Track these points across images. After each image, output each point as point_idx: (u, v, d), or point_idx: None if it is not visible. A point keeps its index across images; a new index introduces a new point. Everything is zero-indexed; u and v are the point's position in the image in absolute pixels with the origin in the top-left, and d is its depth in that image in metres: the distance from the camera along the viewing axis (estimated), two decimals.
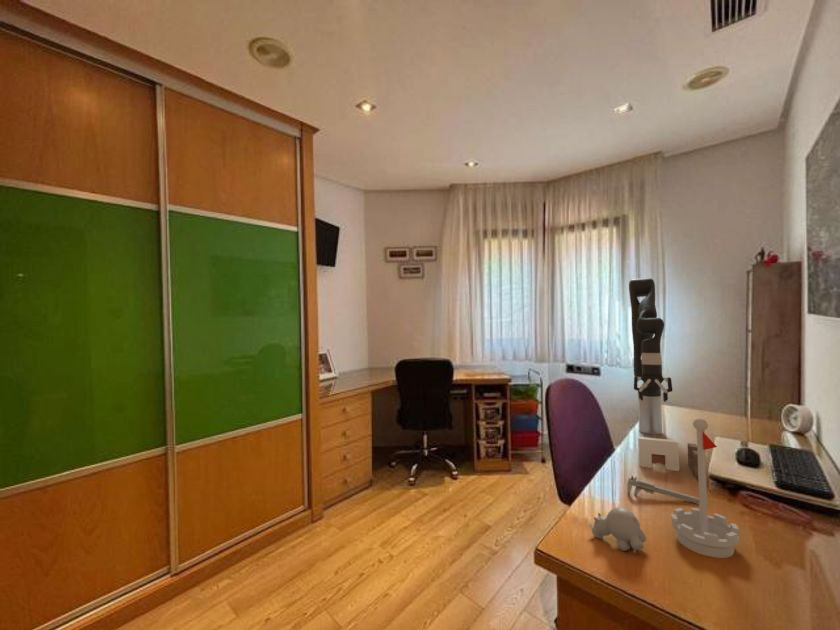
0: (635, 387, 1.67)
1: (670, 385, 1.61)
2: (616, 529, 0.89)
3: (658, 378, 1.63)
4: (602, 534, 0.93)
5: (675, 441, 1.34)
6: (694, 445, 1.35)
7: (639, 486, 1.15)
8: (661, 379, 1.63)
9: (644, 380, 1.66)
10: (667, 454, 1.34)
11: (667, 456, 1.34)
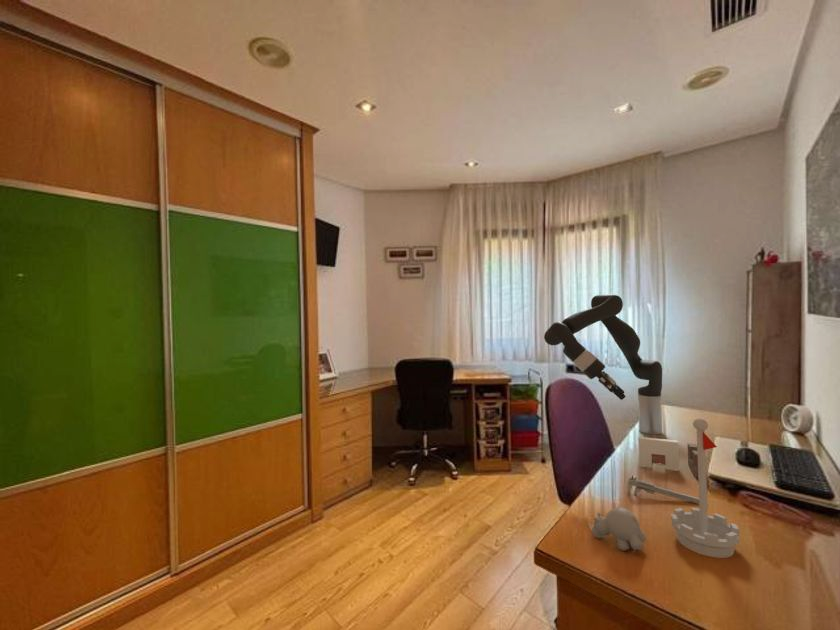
0: None
1: (605, 386, 1.37)
2: (616, 529, 0.89)
3: (599, 379, 1.42)
4: (602, 534, 0.93)
5: (675, 441, 1.34)
6: (694, 445, 1.35)
7: (639, 486, 1.15)
8: None
9: None
10: (667, 454, 1.34)
11: (667, 456, 1.34)
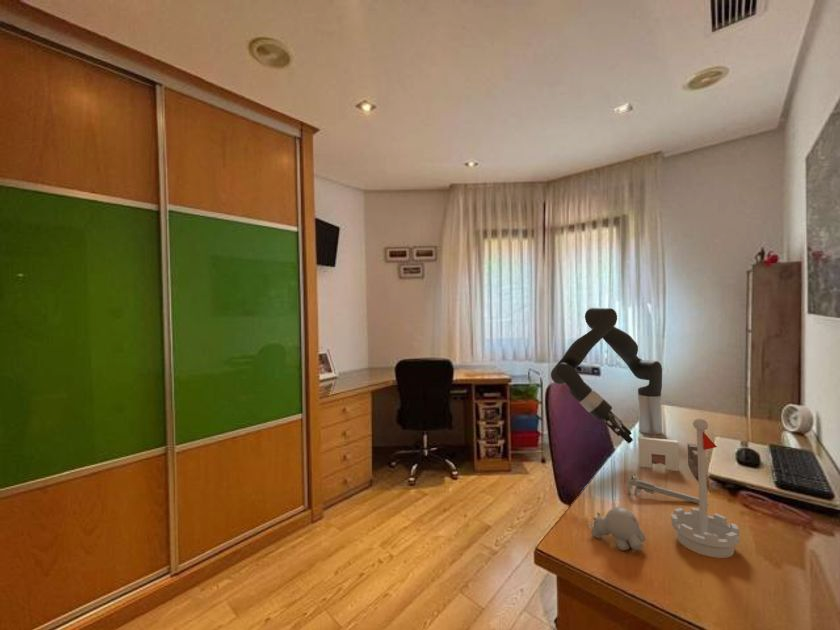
0: None
1: None
2: (616, 528, 0.89)
3: (606, 421, 1.41)
4: (601, 534, 0.93)
5: (675, 441, 1.34)
6: (694, 445, 1.35)
7: (639, 486, 1.15)
8: None
9: None
10: (667, 454, 1.34)
11: (667, 456, 1.34)
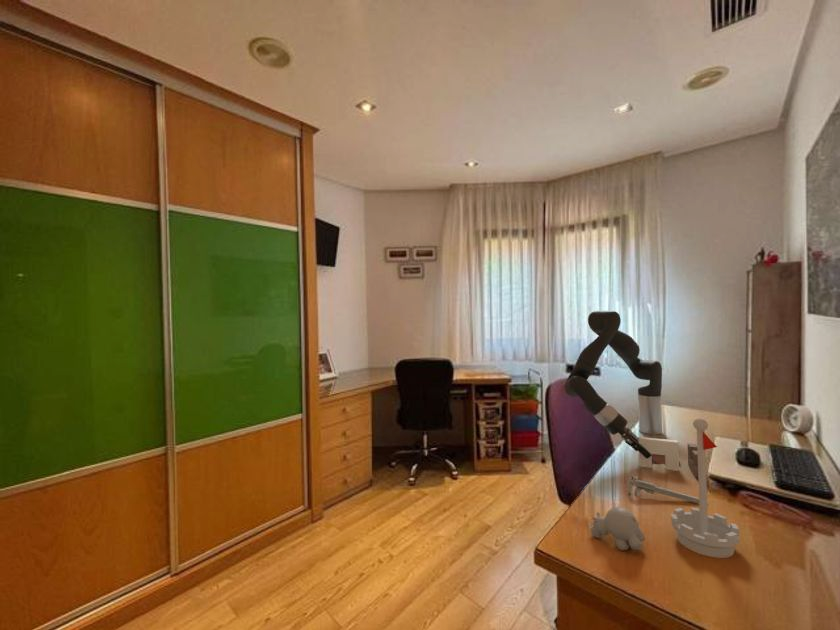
0: None
1: None
2: (615, 528, 0.89)
3: (621, 434, 1.39)
4: (601, 534, 0.93)
5: (675, 441, 1.34)
6: (694, 445, 1.35)
7: (639, 486, 1.15)
8: (623, 437, 1.38)
9: None
10: (667, 454, 1.34)
11: (667, 456, 1.34)
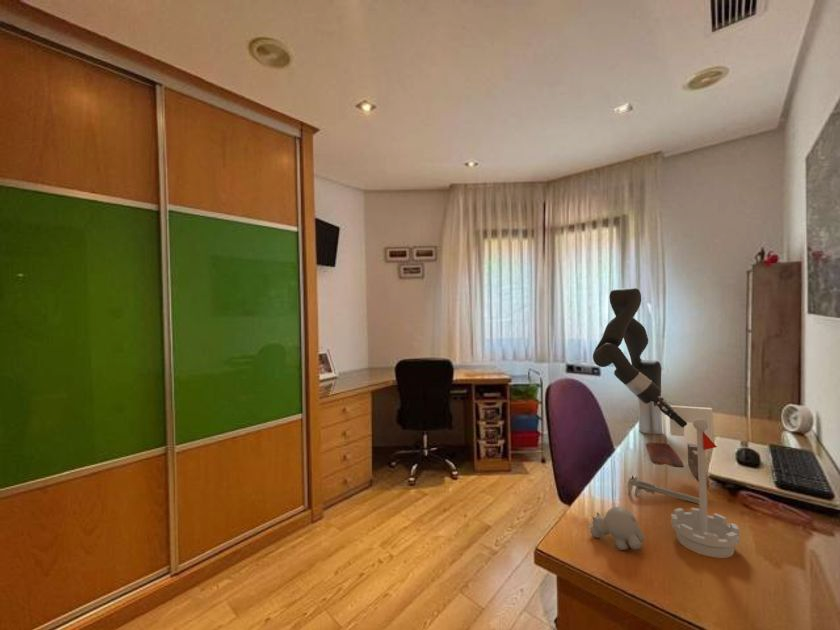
0: None
1: (666, 414, 1.31)
2: (615, 528, 0.89)
3: (654, 403, 1.34)
4: (600, 534, 0.93)
5: (709, 408, 1.29)
6: (694, 445, 1.35)
7: (639, 486, 1.15)
8: (657, 405, 1.33)
9: None
10: None
11: None
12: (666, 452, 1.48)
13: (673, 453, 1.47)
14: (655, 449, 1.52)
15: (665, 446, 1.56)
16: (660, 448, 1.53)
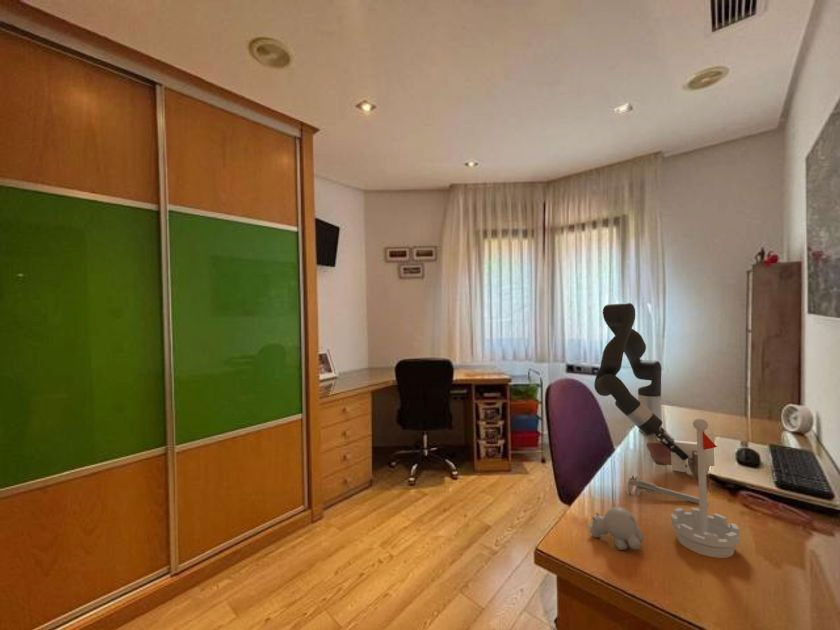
0: None
1: (667, 447, 1.30)
2: (614, 528, 0.89)
3: (656, 435, 1.34)
4: (600, 533, 0.93)
5: None
6: None
7: (640, 486, 1.15)
8: (658, 437, 1.33)
9: None
10: None
11: None
12: (667, 453, 1.48)
13: None
14: (657, 449, 1.51)
15: None
16: (661, 448, 1.53)
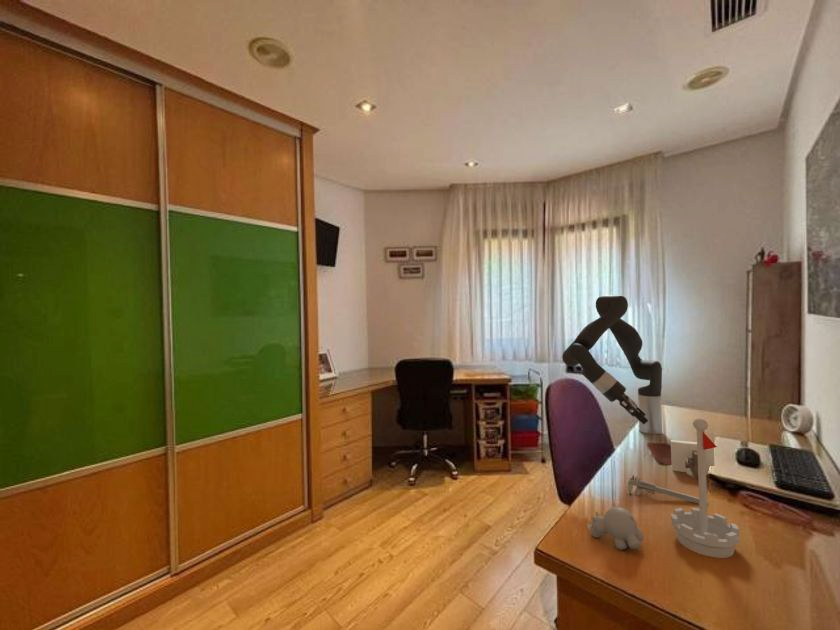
0: None
1: (627, 410, 1.34)
2: (614, 528, 0.89)
3: (620, 402, 1.39)
4: (599, 533, 0.93)
5: None
6: None
7: (640, 486, 1.15)
8: None
9: None
10: None
11: None
12: (669, 453, 1.47)
13: None
14: (658, 450, 1.51)
15: (666, 446, 1.55)
16: (662, 448, 1.52)
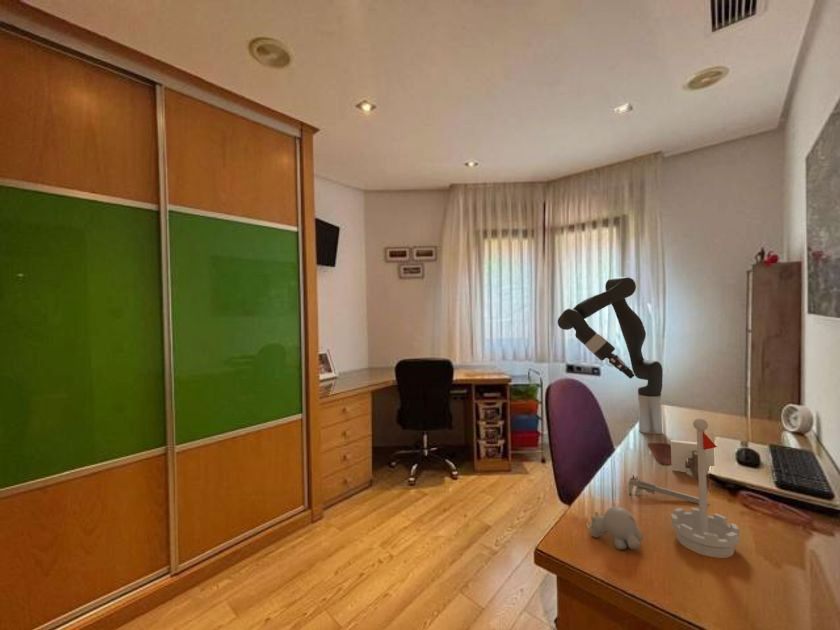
0: None
1: (615, 366, 1.49)
2: (613, 528, 0.89)
3: (609, 360, 1.53)
4: (599, 533, 0.93)
5: None
6: None
7: (640, 486, 1.15)
8: None
9: None
10: None
11: None
12: (670, 453, 1.47)
13: None
14: (659, 450, 1.51)
15: (667, 446, 1.55)
16: (663, 449, 1.52)
